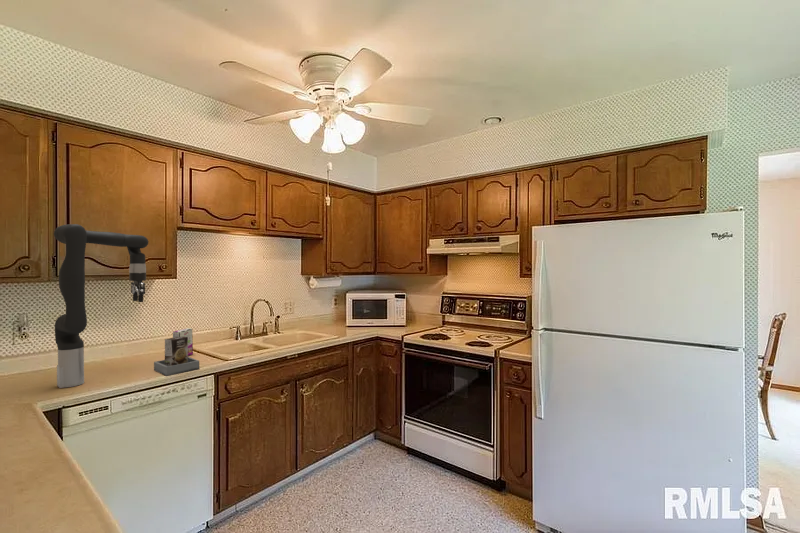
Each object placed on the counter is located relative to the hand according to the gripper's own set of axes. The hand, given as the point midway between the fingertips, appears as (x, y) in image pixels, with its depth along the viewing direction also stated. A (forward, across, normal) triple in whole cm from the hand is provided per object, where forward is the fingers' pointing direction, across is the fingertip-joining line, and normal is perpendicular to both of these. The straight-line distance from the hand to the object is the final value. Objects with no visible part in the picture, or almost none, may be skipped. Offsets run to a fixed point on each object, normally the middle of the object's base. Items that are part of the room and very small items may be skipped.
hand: (138, 301), depth 205 cm
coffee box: (+35, +22, +11) cm, 43 cm away
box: (+36, +22, +11) cm, 44 cm away
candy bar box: (+36, -6, +25) cm, 44 cm away
